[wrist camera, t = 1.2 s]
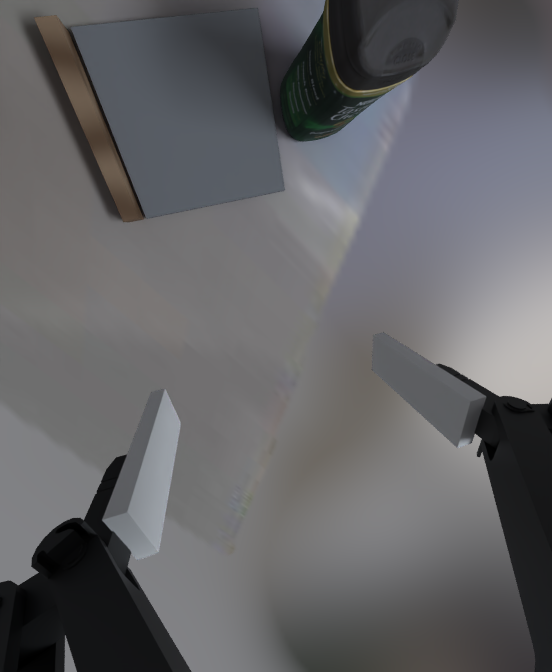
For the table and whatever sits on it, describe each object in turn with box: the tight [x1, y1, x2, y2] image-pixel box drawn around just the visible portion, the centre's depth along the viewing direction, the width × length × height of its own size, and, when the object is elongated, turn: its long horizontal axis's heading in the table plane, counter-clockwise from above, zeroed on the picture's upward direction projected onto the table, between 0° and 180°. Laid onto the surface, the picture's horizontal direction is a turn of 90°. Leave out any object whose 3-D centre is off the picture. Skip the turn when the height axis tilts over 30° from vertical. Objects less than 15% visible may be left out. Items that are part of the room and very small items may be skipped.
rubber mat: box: [71, 8, 285, 218], centre depth 30 cm, size 18×20×1 cm
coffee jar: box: [280, 0, 458, 141], centre depth 24 cm, size 10×8×19 cm
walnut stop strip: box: [34, 15, 144, 222], centre depth 28 cm, size 18×2×2 cm, turn 11°
